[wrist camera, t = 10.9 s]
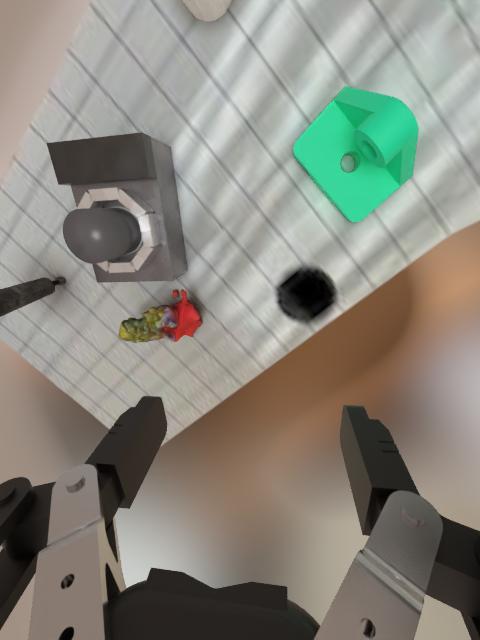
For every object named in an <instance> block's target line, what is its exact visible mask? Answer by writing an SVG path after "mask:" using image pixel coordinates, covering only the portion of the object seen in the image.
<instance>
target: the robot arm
mask: <svg viewBox="0 0 480 640" xmlns="http://www.w3.org/2000/svg"><path fill="white" fill-rule="evenodd" d="M166 431H167V420H166V416H165V411H164V406H163V402H162V399H161V397H153V396H144V397H142V398H141V400H140V401H139V402H138V404H137V405H136V407H131V408H129V409H128V410H127V411H126V412H124V413H123V414H122V415H121V416H120V417H119V418H118V420H117V421H116V422H115V424H114V426H112V428H111V429H110V430H109V432H108V434H106V436H105V437H104V438H103V440H102V441H101V442H100V444H99V445H98V446H97V448H96V449H95V450H94V452H93V453H92V454H91V456H90V457H89V458H88V460H87V461H86V462H85V464H84V465H79V466H76V467H74V468H72V469H70V470H68V471H67V472H65V473H64V474H63V475H62V476H61V477H60V478H59V479H58V480H57V481H56V482H52V483H48V484H43V485H39V486H34V487H32V485H31V483H30V481H29V480H28V479H27V478H23V477H18V478H14V479H11V480H8V481H6V482H4V483H2V484H0V546H1V545H2V547H3V549H2V550H1V552H0V630H1V628H2V626H3V625H4V623H5V622H6V620H7V618H8V616H9V615H10V613H11V612H12V610H13V609H14V607H15V605H16V604H17V602H18V600H19V599H20V597H21V595H22V594H23V592H24V590H25V589H26V587H27V586H28V584H29V582H30V581H31V579H32V577H33V576H34V574H35V573H36V576H35V585H34V594H33V602H32V611H31V620H30V630H29V639H28V640H414V637H415V633H416V629H417V626H418V622H419V619H420V615H421V612H422V608H423V604H424V596H425V594H426V595H429V596H431V597H433V598H434V599H437V600H439V601H441V602H443V603H445V604H447V605H449V606H451V607H453V608H455V609H457V610H459V611H460V612H461V614H462V617H463V619H464V622H465V624H466V627H467V629H468V632H469V635H470V637H471V640H480V531H478V530H475V529H472V528H470V527H467V526H464V525H462V524H459V523H457V522H454V521H451V520H449V519H447V518H445V517H443V516H441V515H440V514H439V513H438V512H437V510H436V509H435V508H434V507H433V506H432V505H431V504H430V503H429V502H428V501H427V500H426V499H424V498H423V497H421V496H420V494H419V492H418V490H417V489H416V486H415V484H414V482H413V480H412V478H411V476H410V474H409V472H408V470H407V467H406V465H405V463H404V461H403V459H402V457H401V455H400V454H399V451H398V449H397V447H396V444H394V440H393V438H392V436H391V434H390V432H389V430H388V429H387V428H386V427H385V426H384V425H383V424H382V423H381V422H380V421H379V420H373V419H369V418H368V415H367V413H366V410H365V408H364V407H363V406H355V405H354V406H353V405H344V406H343V411H342V420H341V429H340V443H341V449H342V453H343V457H344V461H345V465H346V469H347V473H348V477H349V481H350V485H351V489H352V493H353V498H354V502H355V505H356V509H357V513H358V517H359V522H360V526H361V530H362V534H363V535H368V536H369V538H368V540H367V542H366V544H365V546H364V548H363V550H362V551H361V550H360V551H359V552H358V553H357V555H356V557H355V558H354V560H353V562H352V564H351V566H350V568H349V570H348V572H347V574H346V576H345V578H344V580H343V583H342V584H341V586H340V589H339V590H338V592H337V594H336V596H335V599H334V600H333V602H332V605H331V606H330V608H329V610H328V612H327V614H326V616H325V618H324V620H323V622H322V624H321V626H320V625H319V624H318V623H317V622H316V620H315V619H314V618H313V617H312V616H311V615H310V614H309V613H307V612H306V611H305V610H304V609H303V608H301V607H300V606H298V605H297V604H295V603H294V602H292V601H290V600H288V599H287V587H285V586H278V585H271V584H264V583H256V582H249V583H244V584H238V585H233V586H228V587H223V588H218V589H214V588H211V587H209V586H208V585H206V584H204V583H202V582H200V581H198V580H196V579H194V578H193V577H191V576H189V575H187V574H185V573H183V572H178V571H171V570H163V569H157V568H151V570H150V572H149V576H148V578H147V580H146V581H142V582H139V583H137V584H134V585H132V586H130V587H128V588H126V585H125V581H124V578H123V573H122V568H121V560H120V553H119V545H118V537H117V530H116V522H115V518H114V515H115V514H116V512H117V510H118V508H130V507H131V505H132V502H133V500H134V499H135V497H136V494H137V492H138V490H139V488H140V486H141V484H142V482H143V480H144V478H145V476H146V474H147V472H148V470H149V468H150V466H151V464H152V462H153V460H154V457H155V456H156V454H157V452H158V450H159V448H160V446H161V444H162V442H163V440H164V437H165V435H166Z"/></svg>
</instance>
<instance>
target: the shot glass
mask: <svg viewBox="0 0 480 640" xmlns="http://www.w3.org/2000/svg"><path fill="white" fill-rule="evenodd" d="M183 2H184V4H185V5H186V7H187V8H188V10H189V11H190V12H191V13H192V14H193V15H194V16H195V17H196V18H197V19H199V20H201V21H204V22H211V21H216V20H217V19H219V18H220V17H221V16H222V15H224V14H225V12H226V11H227V9H228V7H229V6H230V4H231V2H232V0H183Z"/></svg>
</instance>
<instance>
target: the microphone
mask: <svg viewBox="0 0 480 640" xmlns="http://www.w3.org/2000/svg"><path fill="white" fill-rule="evenodd" d="M64 283H65V279H64V278H62V277H58V278H56V280H55V281H51V280H49V279H47V278H40V279H37V280H33V281H29V282H26V283H22V284H19V285H15V286H11V287H8V288H4V289H0V317H1V316H3V315H5V314H7V313H10V312H12V311H14V310H16V309H18V308H21V307H23V306H25V305H27V304H30V303H32V302H34V301H36V300H39V299H41V298H43V297H45V296H47V295H50V294H52V293H53V292H54V290H55V285H63V284H64Z"/></svg>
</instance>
